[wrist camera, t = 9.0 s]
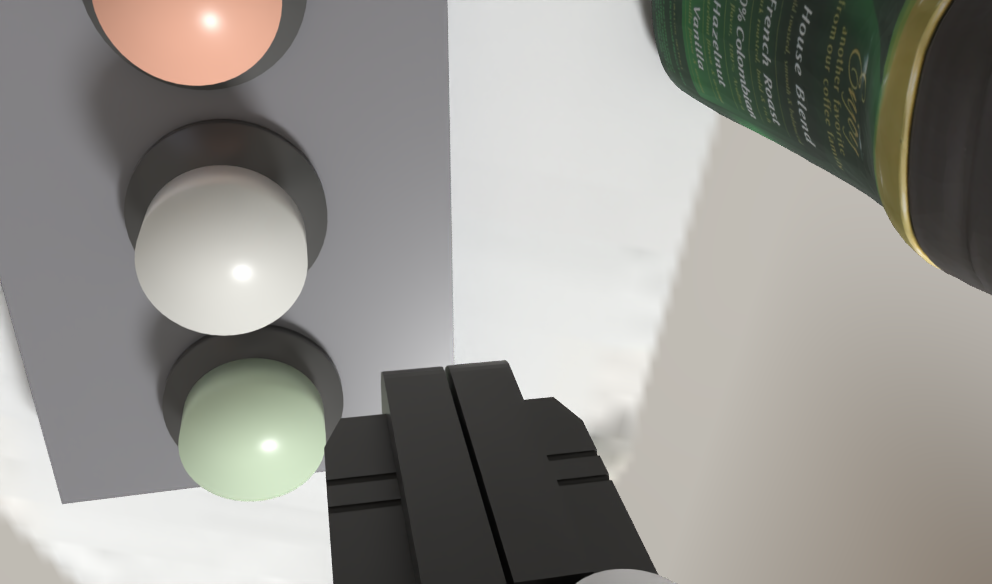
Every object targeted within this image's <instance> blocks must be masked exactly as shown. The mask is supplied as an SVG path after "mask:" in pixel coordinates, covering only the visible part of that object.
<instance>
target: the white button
mask: <svg viewBox="0 0 992 584" xmlns="http://www.w3.org/2000/svg"><path fill="white" fill-rule="evenodd" d="M307 267H308V260H307V242H306V231H305V225H304V222H303V219H302V216H301V214H300V212H299V209H298V207H297V206H296V204H295V203H294V201H293V200H292V198H291V197H290V196H289V195H288V194H287V193H286V191H285V190H283V189H282V188H281V187H280V186H279V185H278V184H277V183H275V182H274V181H272V180H271V179H269V178H268V177H266V176H264V175H262V174H260V173H258V172H255V171H252V170H249V169H246V168H242V167H238V166H229V165H213V166H205V167H200V168H196V169H193V170H190V171H188V172H185V173H183V174H181V175H179V176H177V177H176V178H174V179H172V180H171V181H170V182H168V183H167V184H166V185H165V186H164V187H163V188H162V189H161V190H160V191H159V192H158V193H157V194H156V196H155V197H154V198H153V200H152V201H151V203H150V205H149V207H148V209H147V212H146V214H145V217H144V220H143V223H142V226H141V229H140V232H139V236H138V239H137V242H136V248H135V268H136V273H137V277H138V280H139V283H140V285H141V287H142V290H143V291H144V293H145V294H146V296H147V298H148V299H149V300H150V302H151V303H152V304H153V305H154V306H155V307H156V308H157V309H158V310H159V311H160V312H161V313H162V314H163V315H165V316H166V317H167V318H169V319H170V320H172V321H173V322H175V323H177V324H179V325H180V326H183V327H185V328H187V329H190V330H193V331H196V332H200V333H204V334H210V335H222V336H225V335H238V334H244V333H248V332H252V331H255V330H258V329H260V328H263V327H265V326H267V325H269V324H270V323H272V322H274V321H275V320H277V319H278V318H280V317H281V316H282V315H283V314H284V313H285V312H286V311H288V310H289V308H290V307H291V306H292V305H293V304H294V302H295V301H296V299H297V298H298V296H299V295H300V293H301V290H302V288H303V286H304V283H305V279H306V276H307Z"/></svg>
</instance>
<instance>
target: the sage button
mask: <svg viewBox="0 0 992 584" xmlns="http://www.w3.org/2000/svg"><path fill="white" fill-rule="evenodd" d="M325 445H326V433H325V419H324V408H323V402H322V399H321V396H320V394H319V392H318V390H317V388H316V387H315V385H314V384H313V383H312V381H311V380H310V379H309V378H308V377H307V376H305V375H304V374H303V373H302V372H300V371H299V370H297V369H295V368H294V367H292V366H290V365H287V364H285V363H282V362H279V361H275V360H270V359H262V358H247V359H240V360H235V361H232V362H228V363H225V364H223V365H220V366H218V367H216V368H214V369H213V370H211V371H209V372H208V373H207V374H205V375H204V376H203V377H202V378H201V379H200V380H198V381H197V383H196V384H195V385H194V386H193V387H192V389H191V391H190V392H189V394H188V396H187V399H186V401H185V405H184V409H183V415H182V421H181V428H180V434H179V443H178V448H179V455H180V459H181V462H182V464H183V466H184V468H185V470H186V471H187V473H188V474H189V476H190V477H191V478H192V479H193V480H194V481H195V482H196V483H197V484H198V485H200V486H201V487H202V488H204V489H206V490H207V491H209V492H211V493H213V494H215V495H217V496H220V497H223V498H227V499H231V500H237V501H263V500H268V499H273V498H276V497H280V496H282V495H285V494H287V493H289V492H291V491H293V490H295V489H297V488H298V487H299V486H301V485H302V484H304V483H305V482H306V481H307V480H308V479H309V478H310V477H311V476H312V475H313V474H314V473H315V471H316V470H317V468H318V467H319V465H320V463H321V461H322V459H323V456H324V447H325Z"/></svg>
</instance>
